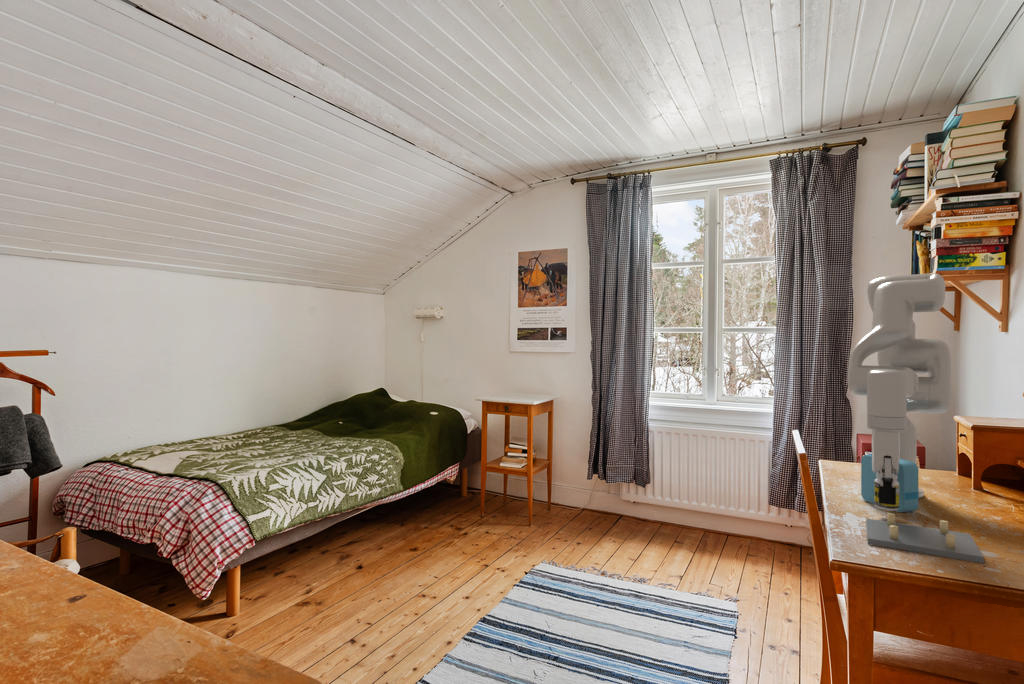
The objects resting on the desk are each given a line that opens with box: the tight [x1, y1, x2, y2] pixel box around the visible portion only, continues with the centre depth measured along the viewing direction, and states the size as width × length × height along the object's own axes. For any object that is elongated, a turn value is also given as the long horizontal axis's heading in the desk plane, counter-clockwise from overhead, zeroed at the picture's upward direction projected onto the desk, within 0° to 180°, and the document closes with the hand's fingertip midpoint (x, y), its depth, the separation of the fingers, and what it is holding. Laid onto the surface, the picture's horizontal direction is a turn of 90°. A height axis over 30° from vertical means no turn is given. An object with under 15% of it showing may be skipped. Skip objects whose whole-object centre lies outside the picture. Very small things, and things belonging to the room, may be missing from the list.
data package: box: [860, 453, 919, 513], centre depth 134 cm, size 12×4×12 cm, turn 13°
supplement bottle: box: [873, 470, 899, 512], centre depth 125 cm, size 5×5×8 cm
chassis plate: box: [865, 512, 985, 564], centre depth 111 cm, size 14×18×4 cm
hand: (886, 499), depth 125 cm, fingers closed on supplement bottle, 4 cm apart
